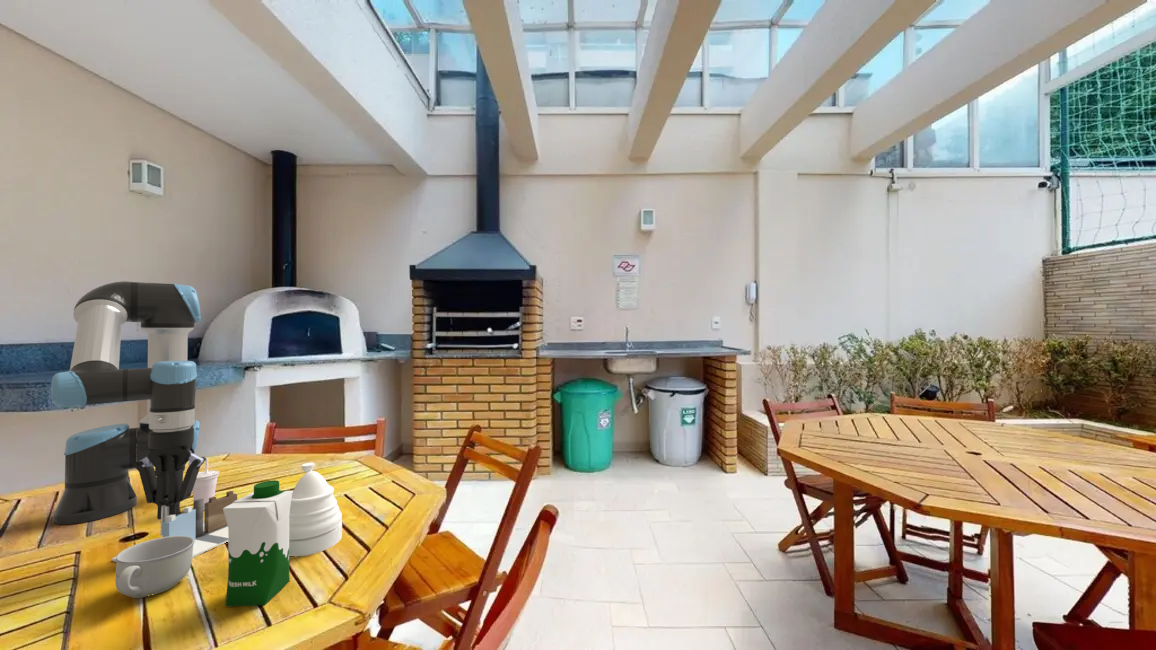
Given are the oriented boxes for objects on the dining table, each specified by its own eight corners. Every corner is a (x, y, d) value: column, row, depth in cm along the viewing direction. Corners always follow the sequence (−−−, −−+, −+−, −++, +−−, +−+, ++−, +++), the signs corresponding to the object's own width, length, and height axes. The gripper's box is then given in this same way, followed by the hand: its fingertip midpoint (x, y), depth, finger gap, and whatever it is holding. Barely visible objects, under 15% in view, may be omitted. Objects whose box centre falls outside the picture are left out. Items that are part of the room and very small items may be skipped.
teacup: (152, 573, 86) (152, 534, 86) (208, 570, 87) (208, 531, 87) (77, 619, 72) (77, 573, 72) (145, 615, 73) (145, 569, 73)
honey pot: (269, 544, 98) (270, 467, 98) (330, 524, 108) (330, 454, 108) (287, 563, 89) (288, 479, 90) (351, 540, 99) (351, 464, 100)
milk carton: (297, 579, 84) (297, 479, 84) (265, 609, 75) (266, 496, 75) (251, 580, 83) (252, 480, 84) (214, 611, 74) (215, 498, 75)
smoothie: (224, 505, 120) (224, 456, 121) (198, 514, 114) (198, 463, 115) (209, 502, 123) (210, 454, 123) (183, 511, 116) (183, 460, 117)
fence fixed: (191, 537, 100) (191, 501, 100) (232, 520, 109) (232, 487, 109) (196, 538, 100) (196, 502, 100) (237, 521, 108) (237, 488, 108)
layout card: (112, 560, 91) (112, 557, 91) (219, 519, 111) (219, 516, 111) (161, 572, 87) (161, 569, 87) (263, 526, 107) (264, 524, 107)
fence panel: (162, 555, 92) (162, 518, 92) (189, 539, 99) (189, 505, 99) (169, 554, 92) (169, 518, 92) (195, 539, 99) (195, 505, 99)
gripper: (125, 433, 91) (120, 542, 90) (191, 431, 93) (187, 538, 93) (153, 425, 98) (148, 526, 98) (214, 424, 101) (210, 523, 100)
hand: (167, 532), depth 95 cm, fingers closed
